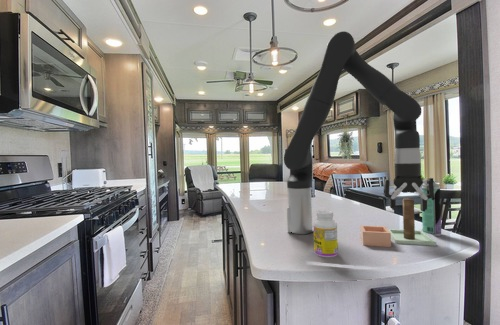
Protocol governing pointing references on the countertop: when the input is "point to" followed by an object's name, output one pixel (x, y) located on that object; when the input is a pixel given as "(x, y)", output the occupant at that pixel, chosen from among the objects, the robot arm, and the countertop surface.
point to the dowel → (408, 219)
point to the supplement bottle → (325, 234)
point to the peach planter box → (375, 236)
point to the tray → (419, 239)
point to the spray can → (432, 212)
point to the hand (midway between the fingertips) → (408, 210)
